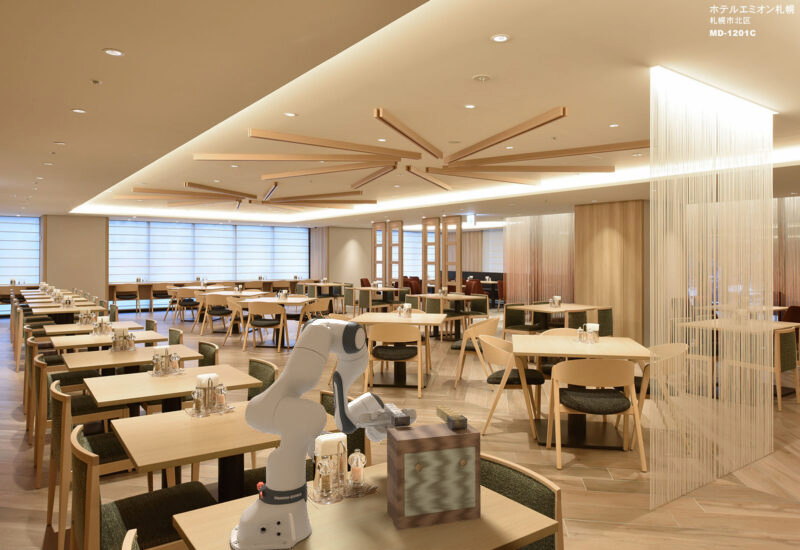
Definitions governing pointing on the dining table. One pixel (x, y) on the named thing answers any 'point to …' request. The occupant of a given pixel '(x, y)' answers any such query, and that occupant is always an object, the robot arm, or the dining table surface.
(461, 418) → the brass handle
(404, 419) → the steel handle
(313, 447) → the teacup
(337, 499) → the dining table surface
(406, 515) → the wooden box
